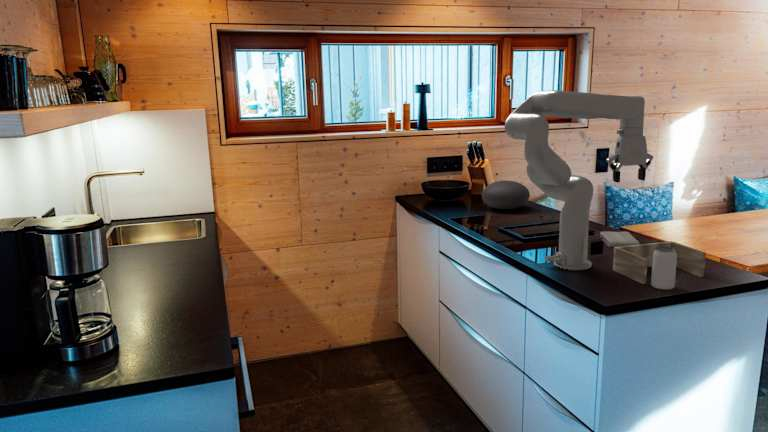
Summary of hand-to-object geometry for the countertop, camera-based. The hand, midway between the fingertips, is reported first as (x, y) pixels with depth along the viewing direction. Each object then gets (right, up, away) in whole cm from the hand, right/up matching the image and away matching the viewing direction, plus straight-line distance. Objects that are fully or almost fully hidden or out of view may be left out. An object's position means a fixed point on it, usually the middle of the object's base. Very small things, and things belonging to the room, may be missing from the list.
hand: (628, 180), depth 197 cm
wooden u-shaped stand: (+3, -31, -14) cm, 35 cm away
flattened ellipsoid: (-23, -9, +95) cm, 98 cm away
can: (-1, -34, -27) cm, 44 cm away
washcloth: (+7, -23, +25) cm, 35 cm away
